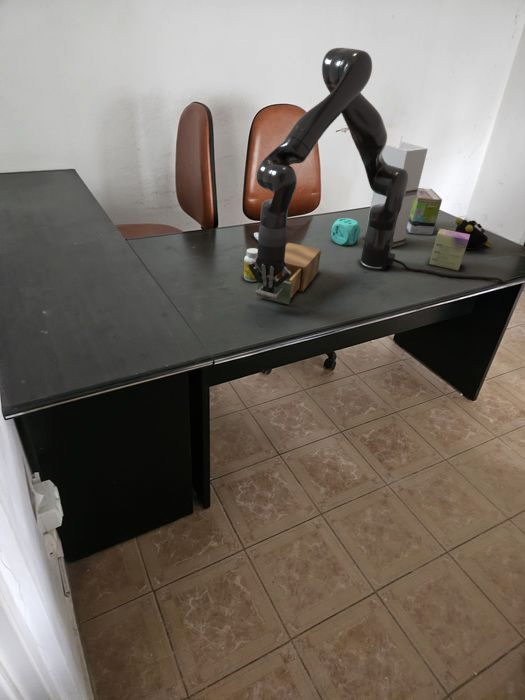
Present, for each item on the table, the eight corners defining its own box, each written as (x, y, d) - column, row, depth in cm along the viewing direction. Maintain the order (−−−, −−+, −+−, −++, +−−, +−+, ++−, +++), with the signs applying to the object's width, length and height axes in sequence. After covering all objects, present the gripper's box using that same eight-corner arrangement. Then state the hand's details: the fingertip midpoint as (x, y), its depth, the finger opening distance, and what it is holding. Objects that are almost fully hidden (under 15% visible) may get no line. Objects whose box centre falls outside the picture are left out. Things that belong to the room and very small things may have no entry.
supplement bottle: (262, 280, 152) (264, 253, 147) (247, 283, 151) (248, 255, 145) (256, 273, 156) (257, 246, 151) (241, 275, 155) (242, 248, 149)
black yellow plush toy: (484, 263, 182) (492, 234, 170) (446, 255, 188) (451, 226, 176) (494, 242, 187) (501, 213, 174) (456, 234, 193) (461, 205, 181)
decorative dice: (346, 247, 178) (350, 227, 174) (329, 241, 183) (332, 221, 178) (358, 242, 183) (361, 222, 179) (341, 236, 188) (344, 216, 183)
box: (460, 265, 171) (470, 233, 164) (458, 271, 166) (468, 239, 159) (431, 258, 174) (439, 227, 167) (428, 264, 170) (437, 233, 163)
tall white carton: (404, 243, 185) (427, 148, 164) (385, 248, 179) (406, 151, 159) (383, 233, 192) (402, 141, 172) (364, 238, 187) (382, 143, 167)
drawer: (281, 313, 135) (283, 292, 131) (248, 304, 138) (249, 283, 134) (304, 284, 150) (307, 265, 146) (275, 277, 153) (276, 258, 149)
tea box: (433, 235, 194) (443, 199, 185) (408, 233, 193) (417, 197, 185) (423, 222, 206) (432, 187, 197) (400, 220, 206) (408, 186, 197)
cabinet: (302, 292, 148) (305, 267, 143) (268, 283, 151) (270, 259, 146) (317, 272, 159) (321, 249, 155) (286, 265, 163) (288, 242, 158)
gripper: (243, 239, 126) (241, 297, 136) (290, 250, 122) (284, 308, 132) (255, 230, 132) (252, 286, 142) (300, 240, 128) (294, 297, 138)
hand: (268, 297), depth 137 cm, fingers closed
